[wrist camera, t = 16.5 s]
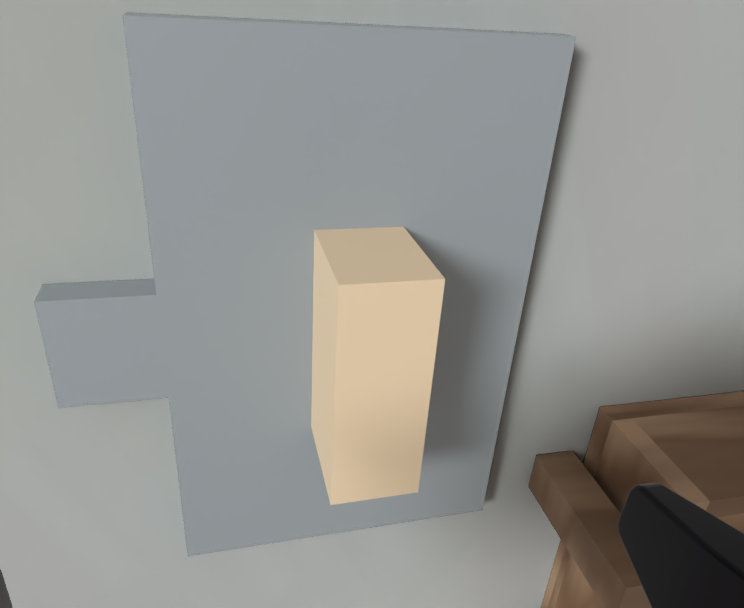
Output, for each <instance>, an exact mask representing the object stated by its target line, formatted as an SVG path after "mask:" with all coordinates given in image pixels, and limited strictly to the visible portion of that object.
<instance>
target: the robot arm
mask: <svg viewBox="0 0 744 608" xmlns="http://www.w3.org/2000/svg"><path fill="white" fill-rule="evenodd" d="M618 531H619V535H620V538H621V540H622V542H623V545H624V547H625V549H626V551H627V554H628V556H629V558H630V560H631V563H632V565H633V567H634V569H635V572H636V574H637V576H638V578H639V581H640V583H641V585H642V587H643V590H644V592H645V594H646V596H647V599H648V601H649V603H650V605H651V608H744V533H742V532H741V531H739V530H737V529H736V528H734V527H732V526H731V525H729V524H727V523H726V522H724V521H722V520H721V519H719V518H717V517H716V516H714V515H712V514H711V513H709V512H707V511H706V510H704V509H702V508H701V507H699V506H697V505H696V504H694V503H692V502H691V501H689V500H687V499H685V498H684V497H682V496H680V495H679V494H677V493H675V492H674V491H672V490H670V489H669V488H667V487H665V486H664V485H662V484H659V483H647V484H639V485H635V486H634V487H632V488H631V490H630V491H629V494H628V496H627V499H626V502H625V504H624V507H623V509H622V512H621V515H620V517H619V520H618ZM0 608H12V604H11V600H10V597H9V594H8V591H7V588H6V584H5V581H4V578H3V575H2V572H1V570H0Z"/></svg>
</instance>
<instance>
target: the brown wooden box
mask: <svg viewBox="0 0 744 608" xmlns="http://www.w3.org/2000/svg"><path fill="white" fill-rule="evenodd" d="M647 483H659V484H662V485H664V486H665V487H667V488H669V489H670V490H672V491H674V492H675V493H677V494H679V495H680V496H682V497H684V498H685V499H687V500H689V501H691V502H692V503H694V504H696V505H697V506H699V507H701V508H702V509H704V510H706V511H707V512H709V513H711V514H712V515H714V516H716V517H717V518H719V519H721V520H722V521H724V522H726V523H727V524H729V525H731V526H732V527H734V528H736V529H737V530H739V531H741V532H742V533H744V391H742V392H733V393H724V394H714V395H705V396H696V397H687V398H677V399H668V400H659V401H649V402H640V403H631V404H621V405H612V406H603V407H600V408H599V411H598V415H597V418H596V422H595V425H594V428H593V432H592V435H591V439H590V442H589V446H588V449H587V452H586V456H585V459H584V463H583V464H582V462H581V461H580V460H579V458H578V457H577V456H576V454H575V453H574V452H573V451H566V452H558V453H550V454H541V455H536V458H535V462H534V467H533V471H532V475H531V479H530V483H529V488H530V490H531V492H532V493H533V495H534V496H535V498H536V500H537V501H538V503H539V504H540V506H541V508H542V509H543V511H544V512H545V514H546V516H547V517H548V519H549V521H550V522H551V524H552V525H553V527H554V529H555V530H556V532H557V533H558V535H559V537H560V538H561V541H560V545H559V548H558V551H557V555H556V558H555V562H554V565H553V568H552V572H551V575H550V579H549V582H548V586H547V589H546V592H545V596H544V599H543V603H542V606H541V608H651V605H650V603H649V601H648V599H647V596H646V594H645V592H644V590H643V587H642V585H641V583H640V581H639V578H638V576H637V574H636V572H635V569H634V567H633V565H632V563H631V560H630V558H629V556H628V554H627V551H626V549H625V547H624V545H623V542H622V540H621V538H620V535H619V531H618V520H619V517H620V515H621V512H622V509H623V507H624V504H625V502H626V499H627V496H628V494H629V491H630V490H631V488H632V487H634V486H635V485H639V484H647Z"/></svg>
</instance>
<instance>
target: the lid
mask: <svg viewBox="0 0 744 608" xmlns="http://www.w3.org/2000/svg"><path fill="white" fill-rule="evenodd" d="M123 23H124V32H125V40H126V48H127V57H128V65H129V73H130V81H131V90H132V98H133V106H134V115H135V123H136V131H137V139H138V148H139V156H140V164H141V173H142V181H143V189H144V197H145V206H146V214H147V222H148V230H149V239H150V247H151V255H152V264H153V272H154V279H139V280H119V281H99V282H80V283H60V284H43V285H42V287H41V289H40V291H39V293H38V295H37V297H36V299H35V301H34V304H35V308H36V312H37V317H38V321H39V326H40V330H41V334H42V339H43V343H44V348H45V352H46V356H47V361H48V365H49V369H50V374H51V378H52V383H53V387H54V391H55V396H56V400H57V405H58V408H65V407H75V406H85V405H96V404H106V403H117V402H127V401H137V400H148V399H158V398H169V404H170V413H171V421H172V429H173V437H174V446H175V454H176V462H177V471H178V479H179V487H180V495H181V504H182V512H183V520H184V529H185V537H186V545H187V553H188V556H193V555H199V554H206V553H212V552H218V551H225V550H231V549H237V548H244V547H250V546H256V545H263V544H269V543H275V542H282V541H288V540H295V539H301V538H307V537H314V536H320V535H326V534H333V533H339V532H345V531H352V530H358V529H364V528H371V527H377V526H383V525H390V524H396V523H403V522H409V521H415V520H422V519H428V518H434V517H441V516H447V515H453V514H460V513H466V512H472V511H479V510H483V505H484V500H485V495H486V490H487V485H488V479H489V474H490V469H491V464H492V459H493V454H494V449H495V444H496V439H497V434H498V429H499V424H500V419H501V414H502V409H503V404H504V399H505V394H506V389H507V384H508V379H509V374H510V368H511V363H512V358H513V353H514V348H515V343H516V338H517V333H518V328H519V323H520V318H521V313H522V308H523V303H524V298H525V293H526V288H527V283H528V278H529V273H530V268H531V263H532V258H533V252H534V247H535V242H536V237H537V232H538V227H539V222H540V217H541V212H542V207H543V202H544V197H545V192H546V187H547V182H548V177H549V172H550V167H551V162H552V157H553V152H554V147H555V141H556V136H557V131H558V126H559V121H560V116H561V111H562V106H563V101H564V96H565V91H566V86H567V81H568V76H569V71H570V66H571V61H572V56H573V51H574V46H575V41H576V37H575V36H569V35H564V34H556V33H536V32H515V31H495V30H475V29H454V28H434V27H414V26H393V25H373V24H353V23H332V22H312V21H292V20H271V19H251V18H231V17H210V16H190V15H170V14H149V13H129V12H127V13H125V14H124V15H123Z"/></svg>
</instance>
